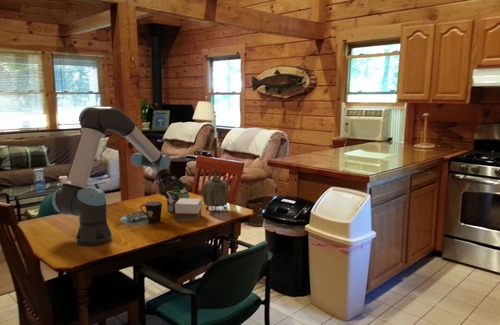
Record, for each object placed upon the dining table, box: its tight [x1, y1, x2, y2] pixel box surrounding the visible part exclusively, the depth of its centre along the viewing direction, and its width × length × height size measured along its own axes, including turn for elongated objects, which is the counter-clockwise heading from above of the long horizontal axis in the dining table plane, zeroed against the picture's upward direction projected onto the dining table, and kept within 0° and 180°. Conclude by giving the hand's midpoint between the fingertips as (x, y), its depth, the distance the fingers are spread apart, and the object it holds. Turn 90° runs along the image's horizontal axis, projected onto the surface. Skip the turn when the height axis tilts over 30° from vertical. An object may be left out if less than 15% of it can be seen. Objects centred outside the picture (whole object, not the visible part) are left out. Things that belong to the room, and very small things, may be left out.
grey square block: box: [174, 208, 202, 223], centre depth 211 cm, size 12×12×5 cm
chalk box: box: [166, 185, 189, 214], centre depth 224 cm, size 9×9×15 cm
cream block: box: [174, 197, 202, 214], centre depth 210 cm, size 12×12×5 cm
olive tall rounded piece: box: [202, 168, 229, 213], centre depth 223 cm, size 14×9×25 cm, turn 92°
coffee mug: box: [139, 200, 163, 224], centre depth 205 cm, size 12×9×10 cm
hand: (180, 200), depth 223 cm, fingers open, 13 cm apart
